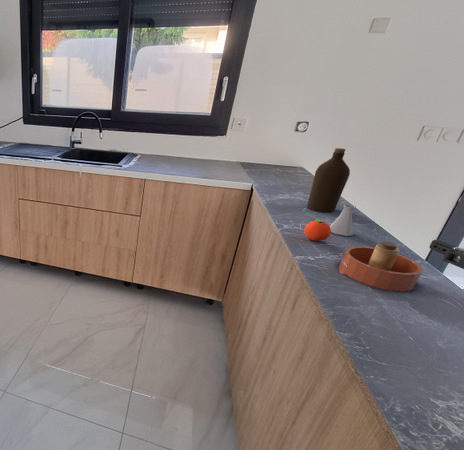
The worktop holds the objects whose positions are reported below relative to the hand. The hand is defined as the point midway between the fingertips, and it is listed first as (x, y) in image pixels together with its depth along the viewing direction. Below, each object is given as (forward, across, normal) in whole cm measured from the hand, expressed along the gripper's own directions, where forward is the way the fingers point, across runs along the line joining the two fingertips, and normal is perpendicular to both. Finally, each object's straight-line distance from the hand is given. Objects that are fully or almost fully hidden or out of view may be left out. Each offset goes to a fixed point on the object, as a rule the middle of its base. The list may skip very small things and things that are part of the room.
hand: (451, 242), depth 67 cm
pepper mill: (+11, 0, +16) cm, 19 cm away
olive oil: (+62, -27, +17) cm, 69 cm away
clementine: (+34, -2, +17) cm, 39 cm away
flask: (+39, -15, +17) cm, 45 cm away
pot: (+11, 0, +17) cm, 20 cm away
